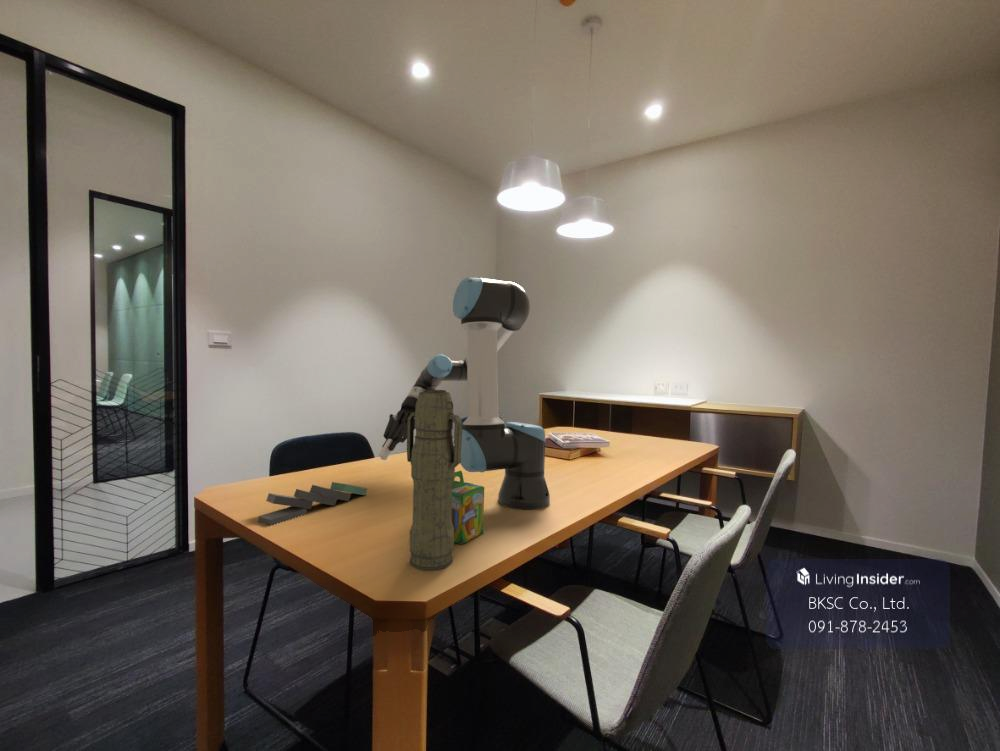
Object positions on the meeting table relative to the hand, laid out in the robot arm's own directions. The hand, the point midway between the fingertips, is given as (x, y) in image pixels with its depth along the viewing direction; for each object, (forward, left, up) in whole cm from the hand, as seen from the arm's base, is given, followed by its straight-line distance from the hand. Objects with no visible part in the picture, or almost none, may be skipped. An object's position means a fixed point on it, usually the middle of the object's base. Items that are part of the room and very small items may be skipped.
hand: (382, 457), depth 144 cm
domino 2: (-16, +25, -9) cm, 31 cm away
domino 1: (-14, +23, -8) cm, 28 cm away
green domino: (-5, +8, -9) cm, 13 cm away
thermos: (-58, +2, -10) cm, 59 cm away
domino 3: (-12, +17, -9) cm, 22 cm away
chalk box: (-47, -8, -10) cm, 48 cm away
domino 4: (-9, +13, -8) cm, 18 cm away
